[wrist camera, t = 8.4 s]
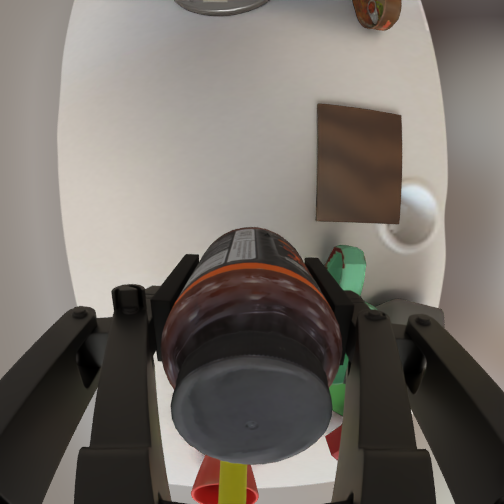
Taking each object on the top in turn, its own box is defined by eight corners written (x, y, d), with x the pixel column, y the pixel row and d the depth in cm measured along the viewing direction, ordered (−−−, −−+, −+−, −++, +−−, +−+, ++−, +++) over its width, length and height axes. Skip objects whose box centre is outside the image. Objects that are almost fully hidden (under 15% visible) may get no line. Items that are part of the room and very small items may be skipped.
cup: (363, 310, 31) (449, 315, 26) (371, 288, 39) (439, 293, 34) (354, 382, 32) (432, 389, 28) (365, 349, 40) (428, 355, 36)
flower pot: (263, 467, 46) (265, 507, 36) (209, 473, 46) (205, 511, 37) (248, 436, 43) (248, 480, 34) (188, 443, 44) (180, 485, 34)
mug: (352, 338, 39) (377, 381, 29) (282, 340, 39) (291, 387, 29) (367, 233, 35) (405, 253, 26) (290, 230, 35) (305, 250, 25)
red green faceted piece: (287, 411, 42) (294, 454, 33) (387, 326, 38) (416, 360, 30) (342, 442, 44) (354, 478, 36) (430, 372, 41) (455, 403, 32)
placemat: (317, 104, 32) (318, 103, 31) (399, 116, 32) (401, 115, 31) (315, 220, 35) (316, 221, 34) (397, 223, 35) (399, 224, 34)
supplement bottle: (320, 289, 17) (399, 430, 7) (236, 337, 18) (226, 499, 7) (267, 202, 16) (304, 262, 5) (179, 260, 17) (86, 386, 6)
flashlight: (267, 561, 18) (287, 540, 16) (184, 555, 18) (182, 533, 16) (261, 423, 42) (271, 383, 40) (205, 417, 42) (209, 375, 40)
